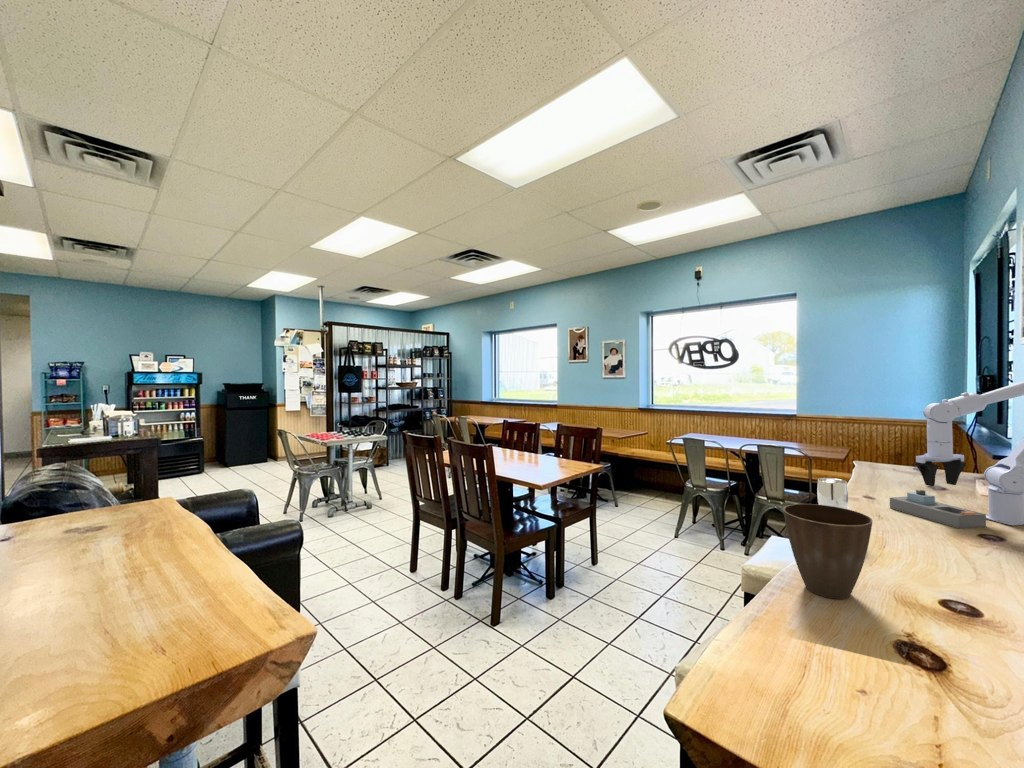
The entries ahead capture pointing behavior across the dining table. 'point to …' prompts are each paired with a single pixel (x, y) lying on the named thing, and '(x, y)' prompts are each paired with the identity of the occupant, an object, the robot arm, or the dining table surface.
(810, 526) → the plant pot
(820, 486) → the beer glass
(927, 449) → the robot arm
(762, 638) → the dining table surface
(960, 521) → the grey slotted tray
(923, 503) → the plug
